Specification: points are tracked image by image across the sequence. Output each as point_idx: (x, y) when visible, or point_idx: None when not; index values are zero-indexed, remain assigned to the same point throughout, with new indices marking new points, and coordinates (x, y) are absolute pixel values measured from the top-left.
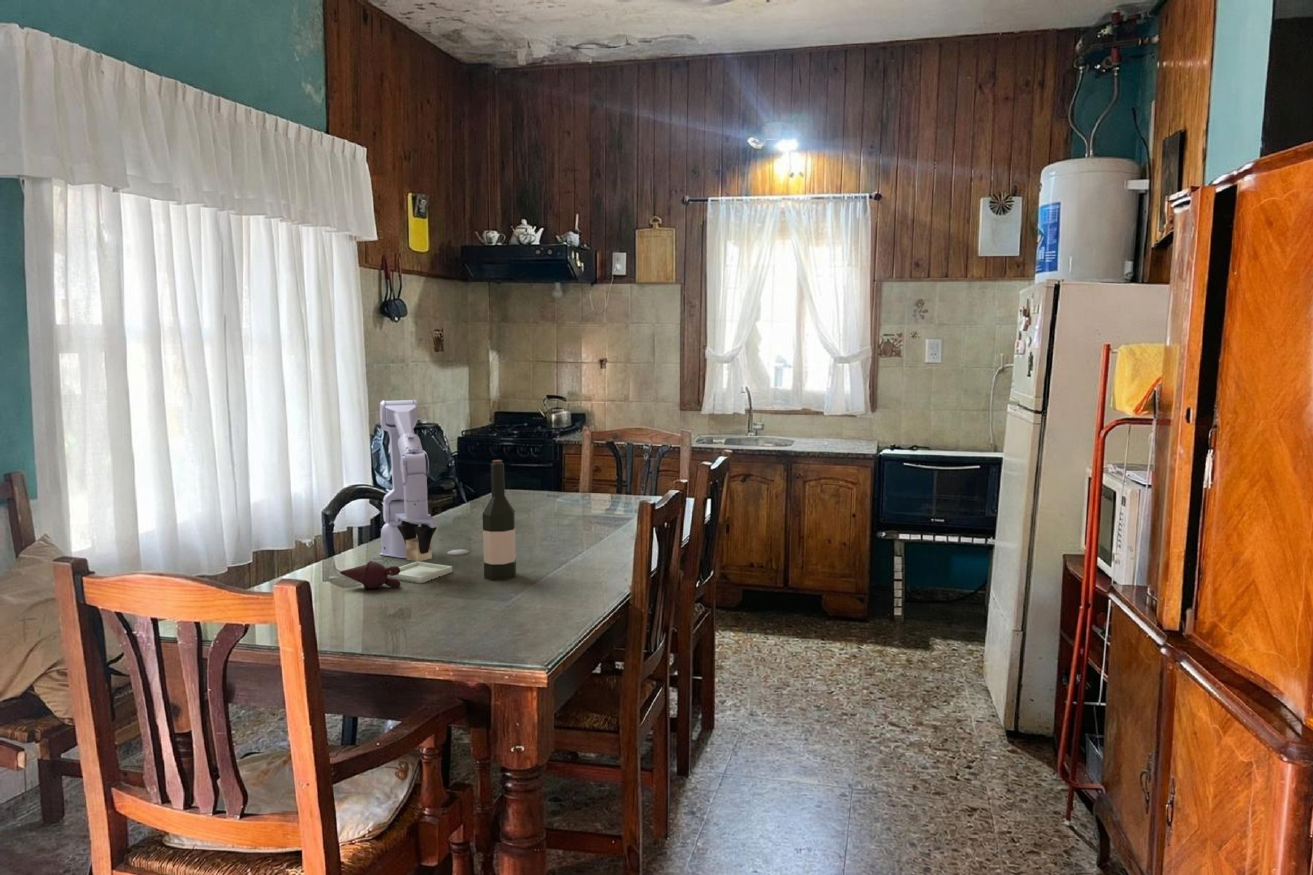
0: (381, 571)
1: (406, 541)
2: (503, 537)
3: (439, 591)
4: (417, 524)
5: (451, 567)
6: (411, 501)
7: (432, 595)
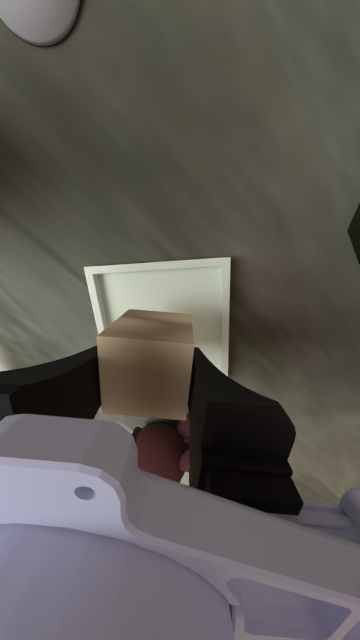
0: (183, 472)
1: (108, 409)
2: None
3: (303, 396)
4: (32, 396)
5: (229, 260)
6: None
7: (305, 419)
